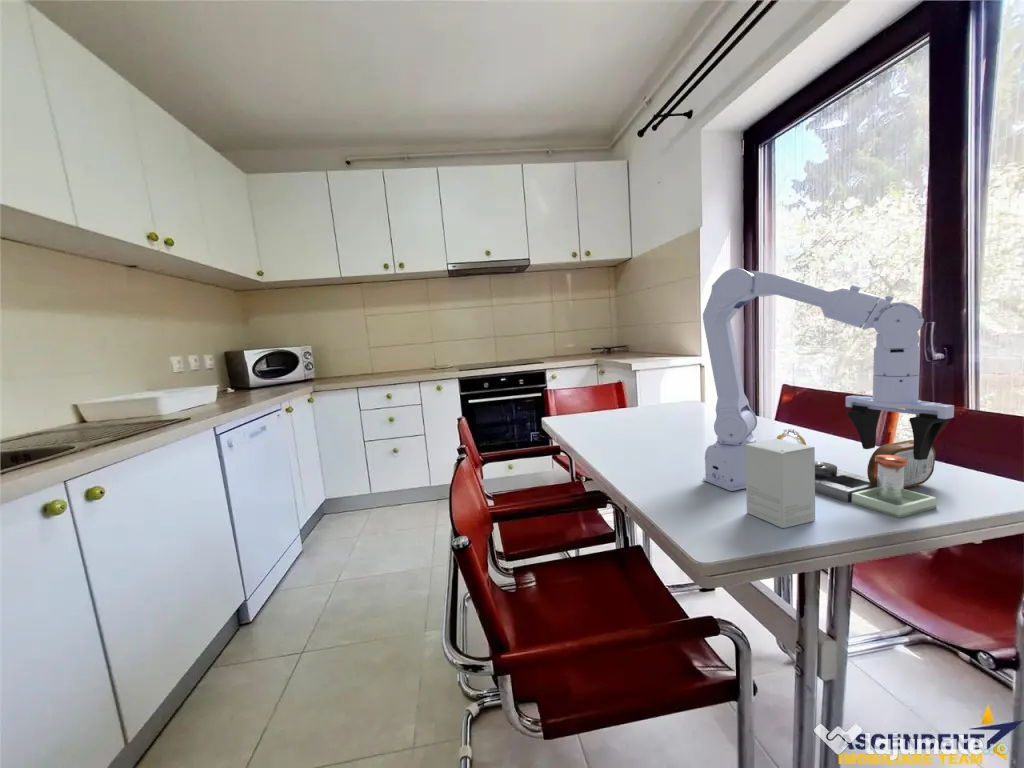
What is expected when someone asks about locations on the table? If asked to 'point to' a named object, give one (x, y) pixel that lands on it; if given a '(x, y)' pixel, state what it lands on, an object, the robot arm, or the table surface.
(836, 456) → the table surface
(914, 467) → the tin
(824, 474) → the tensioner block
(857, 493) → the tray
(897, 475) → the jar with copper lid
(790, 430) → the ring
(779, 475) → the supplement box
